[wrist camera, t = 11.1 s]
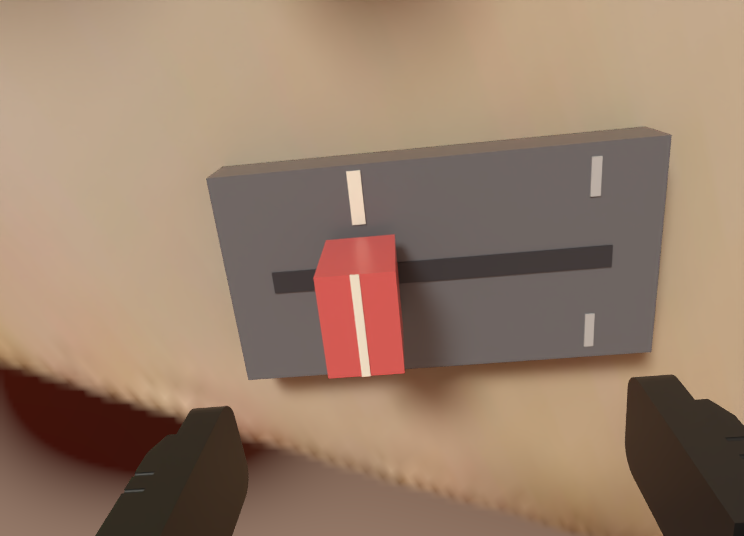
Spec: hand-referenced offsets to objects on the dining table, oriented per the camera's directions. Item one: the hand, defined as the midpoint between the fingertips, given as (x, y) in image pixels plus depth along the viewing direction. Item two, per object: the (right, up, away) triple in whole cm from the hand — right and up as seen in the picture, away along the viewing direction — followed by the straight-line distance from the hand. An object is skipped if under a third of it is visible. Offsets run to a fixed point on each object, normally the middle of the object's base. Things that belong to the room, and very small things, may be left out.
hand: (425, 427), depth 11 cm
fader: (-1, +3, +18) cm, 19 cm away
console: (+3, +4, +21) cm, 22 cm away
